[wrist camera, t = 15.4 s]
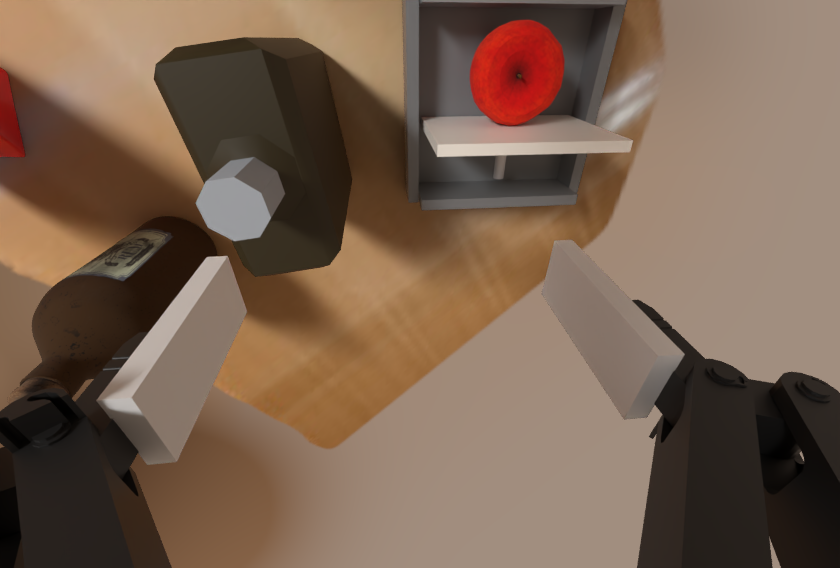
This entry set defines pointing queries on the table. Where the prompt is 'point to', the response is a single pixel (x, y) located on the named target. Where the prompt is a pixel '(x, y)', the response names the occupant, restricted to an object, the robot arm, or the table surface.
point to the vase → (8, 121)
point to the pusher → (518, 137)
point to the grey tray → (451, 96)
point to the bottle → (262, 147)
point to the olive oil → (111, 302)
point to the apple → (516, 72)
